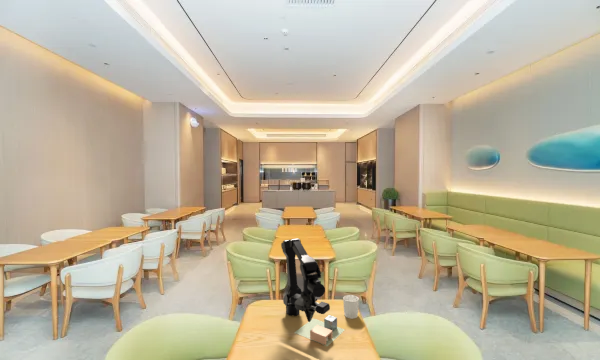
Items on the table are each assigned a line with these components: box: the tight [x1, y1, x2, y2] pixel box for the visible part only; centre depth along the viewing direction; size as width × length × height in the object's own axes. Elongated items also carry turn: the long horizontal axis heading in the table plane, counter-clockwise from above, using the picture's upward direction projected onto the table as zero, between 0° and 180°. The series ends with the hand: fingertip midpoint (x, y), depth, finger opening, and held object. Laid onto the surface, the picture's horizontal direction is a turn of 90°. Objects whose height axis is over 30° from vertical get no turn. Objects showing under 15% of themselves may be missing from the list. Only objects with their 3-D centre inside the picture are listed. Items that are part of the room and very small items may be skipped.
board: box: [294, 317, 346, 347], centre depth 139 cm, size 18×16×4 cm
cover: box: [309, 325, 332, 346], centre depth 133 cm, size 8×6×4 cm
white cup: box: [342, 294, 360, 320], centre depth 154 cm, size 8×8×10 cm
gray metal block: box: [323, 314, 338, 332], centre depth 141 cm, size 4×4×5 cm
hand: (309, 321), depth 136 cm, fingers closed
